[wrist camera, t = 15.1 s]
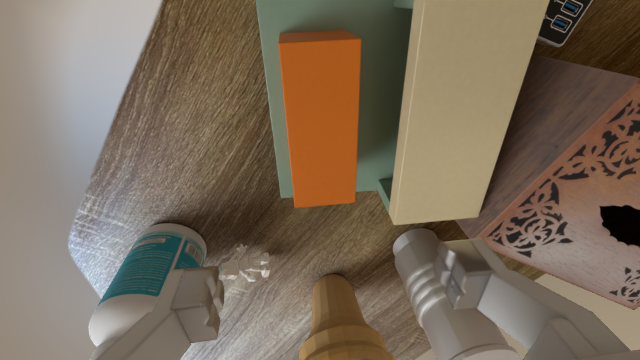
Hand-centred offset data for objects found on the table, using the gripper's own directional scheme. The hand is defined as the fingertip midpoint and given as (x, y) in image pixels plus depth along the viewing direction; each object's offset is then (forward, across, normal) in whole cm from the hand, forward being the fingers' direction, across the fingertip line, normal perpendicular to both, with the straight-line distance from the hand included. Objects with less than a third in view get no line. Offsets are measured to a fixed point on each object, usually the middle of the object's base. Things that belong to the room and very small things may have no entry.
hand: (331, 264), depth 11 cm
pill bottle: (+19, +16, +15) cm, 29 cm away
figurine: (+19, +10, +21) cm, 30 cm away
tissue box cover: (+19, -28, +9) cm, 34 cm away
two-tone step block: (+19, -5, -1) cm, 19 cm away
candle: (+19, -14, +19) cm, 30 cm away
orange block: (+15, -1, -1) cm, 15 cm away
